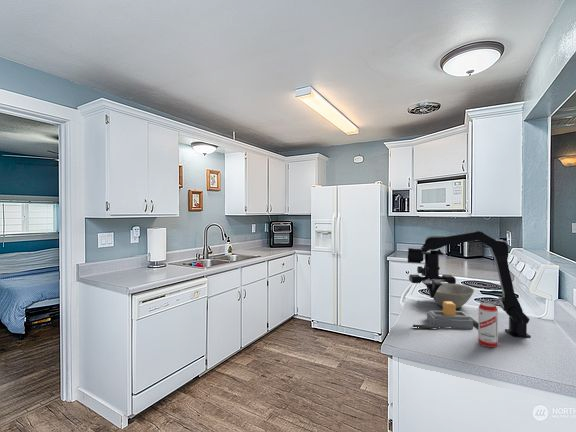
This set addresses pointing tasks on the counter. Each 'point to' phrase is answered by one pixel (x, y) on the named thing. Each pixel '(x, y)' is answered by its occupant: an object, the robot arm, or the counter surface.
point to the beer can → (488, 324)
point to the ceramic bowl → (453, 294)
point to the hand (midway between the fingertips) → (431, 297)
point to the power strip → (450, 319)
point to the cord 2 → (474, 322)
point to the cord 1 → (426, 326)
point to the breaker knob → (449, 308)
